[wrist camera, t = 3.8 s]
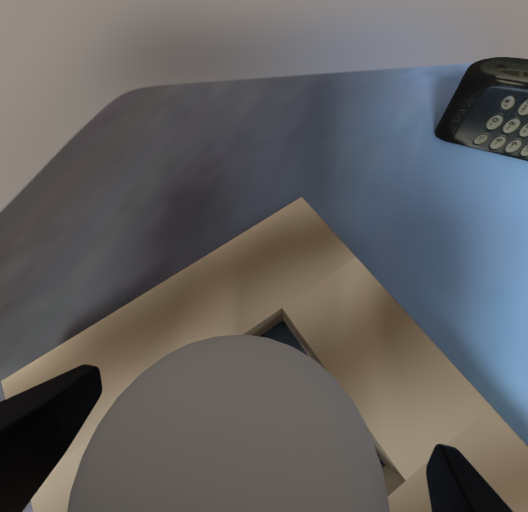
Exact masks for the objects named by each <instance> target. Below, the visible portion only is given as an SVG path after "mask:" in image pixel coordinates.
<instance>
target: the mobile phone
mask: <svg viewBox="0 0 528 512" xmlns="http://www.w3.org/2000/svg"><path fill="white" fill-rule="evenodd" d="M436 136H437V137H438V138H440V139H442V140H444V141H447V142H451V143H455V144H460V145H464V146H468V147H472V148H476V149H480V150H484V151H489V152H493V153H497V154H501V155H505V156H509V157H513V158H518V159H522V160H526V161H528V59H520V58H510V57H509V58H508V57H496V58H489V59H484V60H480V61H477V62H475V63H473V64H472V65H470V66H469V68H468V69H467V71H466V73H465V75H464V76H463V78H462V80H461V82H460V84H459V86H458V88H457V90H456V91H455V93H454V95H453V97H452V99H451V101H450V103H449V105H448V107H447V109H446V111H445V112H444V114H443V116H442V118H441V120H440V122H439V124H438V126H437V129H436Z"/></svg>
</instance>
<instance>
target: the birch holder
mask: <svg viewBox="0 0 528 512" xmlns="http://www.w3.org/2000/svg"><path fill="white" fill-rule="evenodd" d="M281 321H284V322H285V324H286V325H287V327H288V328H289V329H290V331H291V332H292V334H293V335H294V337H295V338H296V339H297V341H298V342H299V344H300V345H301V347H302V348H303V349H304V351H305V352H306V354H307V355H308V356H309V357H311V358H312V359H314V360H315V361H316V362H317V363H319V364H320V365H321V366H322V367H323V368H324V369H325V370H326V371H328V372H329V373H330V374H331V375H332V376H333V377H334V378H335V379H336V380H337V381H338V383H339V384H340V385H341V386H342V388H343V389H344V390H345V391H346V393H347V394H348V395H349V396H350V398H351V399H352V400H353V402H354V403H355V405H356V407H357V409H358V411H359V413H360V414H361V416H362V418H363V420H364V422H365V424H366V425H367V427H368V429H369V431H370V434H371V437H372V440H373V443H374V446H375V449H376V452H377V454H378V456H379V457H380V459H381V460H382V462H383V463H384V464H385V466H384V467H382V469H383V473H384V479H385V485H386V490H387V496H388V502H389V507H390V512H432V509H431V503H430V497H429V490H428V484H427V478H426V467H427V464H428V461H429V459H430V456H431V454H432V452H433V449H434V447H435V445H437V444H444V445H448V446H453V447H455V448H457V449H458V450H459V451H460V452H461V453H462V454H463V455H464V457H465V458H466V459H467V460H468V461H469V462H470V463H471V464H472V466H473V467H474V468H475V469H476V470H477V471H478V472H479V473H480V475H481V476H482V477H483V478H484V479H485V480H486V481H487V483H488V484H489V485H490V486H491V487H492V488H493V489H494V490H495V492H496V493H497V494H498V495H499V496H500V497H501V498H502V499H503V501H504V502H505V503H506V504H507V505H508V506H509V507H510V508H511V510H512V511H513V512H528V446H527V445H526V444H525V443H524V442H523V441H522V440H521V438H520V437H519V436H518V435H517V434H516V433H515V432H514V431H513V430H512V429H511V427H510V426H509V425H508V424H507V423H506V422H505V421H504V420H503V419H502V417H501V416H500V415H499V414H498V413H497V412H496V411H495V410H494V409H493V408H492V406H491V405H490V404H489V403H488V402H487V401H486V400H485V399H484V398H483V396H482V395H481V394H480V393H479V392H478V391H477V390H476V389H475V388H474V387H473V385H472V384H471V383H470V382H469V381H468V380H467V379H466V378H465V377H464V375H463V374H462V373H461V372H460V371H459V370H458V369H457V368H456V367H455V366H454V364H453V363H452V362H451V361H450V360H449V359H448V358H447V357H446V356H445V354H444V353H443V352H442V351H441V350H440V349H439V348H438V347H437V346H436V345H435V343H434V342H433V341H432V340H431V339H430V338H429V337H428V336H427V335H426V333H425V332H424V331H423V330H422V329H421V328H420V327H419V326H418V325H417V324H416V322H415V321H414V320H413V319H412V318H411V317H410V316H409V315H408V314H407V312H406V311H405V310H404V309H403V308H402V307H401V306H400V305H399V304H398V302H397V301H396V300H395V299H394V298H393V297H392V296H391V295H390V294H389V293H388V291H387V290H386V289H385V288H384V287H383V286H382V285H381V284H380V283H379V281H378V280H377V279H376V278H375V277H374V276H373V275H372V274H371V273H370V272H369V270H368V269H367V268H366V267H365V266H364V265H363V264H362V263H361V262H360V260H359V259H358V258H357V257H356V256H355V255H354V254H353V253H352V252H351V251H350V249H349V248H348V247H347V246H346V245H345V244H344V243H343V242H342V241H341V239H340V238H339V237H338V236H337V235H336V234H335V233H334V232H333V231H332V230H331V228H330V227H329V226H328V225H327V224H326V223H325V222H324V221H323V220H322V218H321V217H320V216H319V215H318V214H317V213H316V212H315V211H314V210H313V209H312V207H311V206H310V205H309V204H308V203H307V202H306V201H305V200H304V199H303V197H300V198H299V199H297V200H296V201H294V202H292V203H291V204H289V205H287V206H286V207H284V208H283V209H281V210H279V211H278V212H276V213H274V214H273V215H271V216H270V217H268V218H266V219H265V220H263V221H261V222H260V223H258V224H257V225H255V226H253V227H252V228H250V229H248V230H247V231H245V232H244V233H242V234H240V235H239V236H237V237H235V238H234V239H232V240H230V241H229V242H227V243H226V244H224V245H222V246H221V247H219V248H217V249H216V250H214V251H213V252H211V253H209V254H208V255H206V256H204V257H203V258H201V259H200V260H198V261H196V262H195V263H193V264H191V265H190V266H188V267H187V268H185V269H183V270H182V271H180V272H178V273H177V274H175V275H173V276H172V277H170V278H169V279H167V280H165V281H164V282H162V283H160V284H159V285H157V286H156V287H154V288H152V289H151V290H149V291H147V292H146V293H144V294H143V295H141V296H139V297H138V298H136V299H134V300H133V301H131V302H130V303H128V304H126V305H125V306H123V307H121V308H120V309H118V310H117V311H115V312H113V313H112V314H110V315H108V316H107V317H105V318H103V319H102V320H100V321H99V322H97V323H95V324H94V325H92V326H90V327H89V328H87V329H86V330H84V331H82V332H81V333H79V334H77V335H76V336H74V337H73V338H71V339H69V340H68V341H66V342H64V343H63V344H61V345H60V346H58V347H56V348H55V349H53V350H51V351H50V352H48V353H46V354H45V355H43V356H42V357H40V358H38V359H37V360H35V361H33V362H32V363H30V364H29V365H27V366H25V367H24V368H22V369H20V370H19V371H17V372H16V373H14V374H12V375H11V376H9V377H7V378H6V379H4V380H3V381H1V382H2V386H3V390H4V394H5V399H8V398H10V397H12V396H14V395H17V394H19V393H21V392H23V391H25V390H28V389H30V388H32V387H34V386H36V385H39V384H41V383H43V382H45V381H47V380H50V379H52V378H54V377H56V376H58V375H61V374H63V373H65V372H67V371H69V370H72V369H74V368H76V367H78V366H80V365H83V364H88V365H93V366H97V367H98V368H99V369H100V374H101V381H102V394H101V396H100V398H99V400H98V401H97V403H96V405H95V406H94V408H93V410H92V411H91V413H90V414H89V416H88V418H87V419H86V421H85V423H84V424H83V426H82V427H81V429H80V431H79V432H78V434H77V435H76V437H75V439H74V440H73V442H72V444H71V445H70V447H69V448H68V450H67V451H66V453H65V454H64V455H63V457H62V458H61V460H60V461H59V462H58V464H57V465H56V466H55V468H54V469H53V471H52V472H51V473H50V475H49V476H48V477H47V479H46V480H45V481H44V483H43V484H42V485H41V487H40V488H39V489H38V491H37V492H36V494H35V495H34V496H33V498H32V499H31V504H32V508H33V512H67V509H68V503H69V498H70V492H71V489H72V486H73V483H74V479H75V476H76V473H77V470H78V467H79V464H80V461H81V458H82V456H83V454H84V452H85V450H86V448H87V446H88V444H89V442H90V440H91V438H92V436H93V434H94V432H95V430H96V428H97V426H98V424H99V423H100V421H101V420H102V418H103V417H104V416H105V414H106V413H107V411H108V410H109V409H110V407H111V406H112V404H113V403H114V401H115V400H116V399H117V398H118V396H119V395H120V394H121V393H122V392H123V391H124V390H125V389H126V388H127V387H128V386H129V385H130V384H131V383H132V382H133V381H134V380H135V379H136V378H137V377H138V376H139V375H140V374H141V373H142V372H144V371H145V370H146V369H148V368H149V367H150V366H152V365H153V364H154V363H156V362H157V361H159V360H160V359H161V358H163V357H164V356H165V355H167V354H169V353H171V352H173V351H175V350H177V349H179V348H181V347H183V346H186V345H188V344H190V343H193V342H196V341H200V340H204V339H208V338H212V337H215V336H227V335H243V334H244V335H251V336H258V337H259V336H261V335H262V334H264V333H265V332H267V331H268V330H270V329H271V328H272V327H274V326H275V325H277V324H278V323H280V322H281Z"/></svg>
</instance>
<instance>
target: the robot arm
mask: <svg viewBox="0 0 528 512" xmlns="http://www.w3.org/2000/svg"><path fill="white" fill-rule="evenodd" d="M101 394H102V381H101V374H100V369H99V368H98V367H97V366H93V365H88V364H83V365H80V366H78V367H76V368H74V369H72V370H69V371H67V372H65V373H63V374H61V375H58V376H56V377H54V378H52V379H50V380H47V381H45V382H43V383H41V384H39V385H36V386H34V387H32V388H30V389H28V390H25V391H23V392H21V393H19V394H17V395H14V396H12V397H10V398H8V399H6V400H3V401H1V402H0V512H22V511H23V510H24V508H25V507H26V506H27V504H28V503H29V502H30V500H31V499H32V498H33V496H34V495H35V494H36V492H37V491H38V489H39V488H40V487H41V485H42V484H43V483H44V481H45V480H46V479H47V477H48V476H49V475H50V473H51V472H52V471H53V469H54V468H55V466H56V465H57V464H58V462H59V461H60V460H61V458H62V457H63V455H64V454H65V453H66V451H67V450H68V448H69V447H70V445H71V444H72V442H73V440H74V439H75V437H76V435H77V434H78V432H79V431H80V429H81V427H82V426H83V424H84V423H85V421H86V419H87V418H88V416H89V414H90V413H91V411H92V410H93V408H94V406H95V405H96V403H97V401H98V400H99V398H100V396H101ZM426 478H427V484H428V490H429V497H430V503H431V509H432V512H513V511H512V510H511V508H510V507H509V506H508V505H507V504H506V503H505V502H504V501H503V499H502V498H501V497H500V496H499V495H498V494H497V493H496V492H495V490H494V489H493V488H492V487H491V486H490V485H489V484H488V483H487V481H486V480H485V479H484V478H483V477H482V476H481V475H480V473H479V472H478V471H477V470H476V469H475V468H474V467H473V466H472V464H471V463H470V462H469V461H468V460H467V459H466V458H465V457H464V455H463V454H462V453H461V452H460V451H459V450H458V449H457V448H455V447H453V446H448V445H444V444H437V445H435V447H434V449H433V452H432V454H431V456H430V459H429V461H428V464H427V467H426Z"/></svg>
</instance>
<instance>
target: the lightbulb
mask: <svg viewBox="0 0 528 512" xmlns="http://www.w3.org/2000/svg"><path fill="white" fill-rule="evenodd" d="M67 512H390V507H389V502H388V496H387V490H386V485H385V479H384V473H383V469H382V466H381V463H380V460H379V457H378V454H377V452H376V449H375V446H374V443H373V440H372V437H371V434H370V431H369V429H368V427H367V425H366V424H365V422H364V420H363V418H362V416H361V414H360V413H359V411H358V409H357V407H356V405H355V403H354V402H353V400H352V399H351V398H350V396H349V395H348V394H347V393H346V391H345V390H344V389H343V388H342V386H341V385H340V384H339V383H338V381H337V380H336V379H335V378H334V377H333V376H332V375H331V374H330V373H329V372H328V371H326V370H325V369H324V368H323V367H322V366H321V365H320V364H319V363H317V362H316V361H315V360H314V359H312V358H311V357H309V356H307V355H306V354H304V353H302V352H300V351H299V350H297V349H295V348H294V347H292V346H290V345H287V344H284V343H281V342H278V341H275V340H273V339H270V338H265V337H258V336H251V335H244V334H243V335H227V336H215V337H212V338H208V339H204V340H200V341H196V342H193V343H190V344H188V345H186V346H183V347H181V348H179V349H177V350H175V351H173V352H171V353H169V354H167V355H165V356H164V357H163V358H161V359H160V360H159V361H157V362H156V363H154V364H153V365H152V366H150V367H149V368H148V369H146V370H145V371H144V372H142V373H141V374H140V375H139V376H138V377H137V378H136V379H135V380H134V381H133V382H132V383H131V384H130V385H129V386H128V387H127V388H126V389H125V390H124V391H123V392H122V393H121V394H120V395H119V396H118V398H117V399H116V400H115V401H114V403H113V404H112V406H111V407H110V409H109V410H108V411H107V413H106V414H105V416H104V417H103V418H102V420H101V421H100V423H99V424H98V426H97V428H96V430H95V432H94V434H93V436H92V438H91V440H90V442H89V444H88V446H87V448H86V450H85V452H84V454H83V456H82V458H81V461H80V464H79V467H78V470H77V473H76V476H75V479H74V483H73V486H72V489H71V492H70V498H69V503H68V509H67Z"/></svg>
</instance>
